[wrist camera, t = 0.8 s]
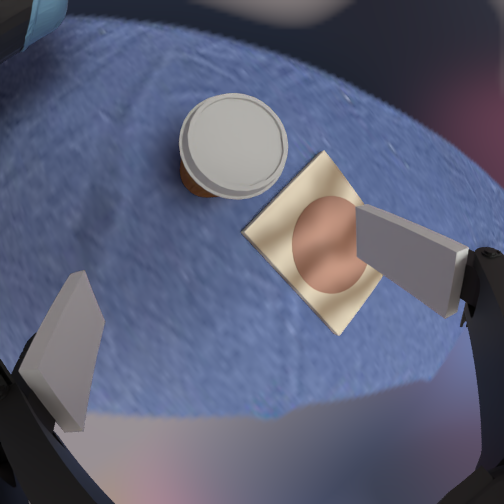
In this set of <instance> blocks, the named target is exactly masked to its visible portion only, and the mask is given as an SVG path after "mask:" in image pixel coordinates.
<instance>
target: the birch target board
mask: <svg viewBox="0 0 504 504" xmlns="http://www.w3.org/2000/svg"><path fill="white" fill-rule="evenodd" d="M361 205H364V203H363V202H362V200H361V199H360V198H359V196H358V195H357V193H356V192H355V191H354V189H353V188H352V186H351V185H350V184H349V182H348V181H347V180H346V178H345V177H344V175H343V174H342V173H341V171H340V170H339V169H338V167H337V166H336V165H335V164H334V162H333V161H332V160H331V158H330V157H329V156H328V154H327V153H326V152H325V151H321V152H319V153H318V154H317V155H316V156H315V157H314V158H313V159H312V160H311V161H310V162H309V163H308V164H307V165H306V166H305V167H304V168H303V169H302V170H301V171H300V172H299V173H298V174H297V175H296V176H295V177H294V178H293V179H292V180H291V181H290V182H289V183H288V184H287V185H286V186H285V187H284V188H283V189H282V190H281V191H280V192H279V194H278V195H277V196H276V197H275V198H274V199H273V200H272V201H271V202H270V203H269V204H268V205H267V206H266V207H265V208H264V209H263V210H262V211H261V212H260V213H259V214H258V215H257V216H256V217H255V218H254V219H253V220H252V221H251V222H250V223H249V224H248V225H247V226H246V227H245V228H244V229H243V230H242V231H241V233H242V234H243V235H244V237H245V238H246V239H247V240H248V241H249V242H250V243H251V244H252V245H253V246H254V247H255V248H256V250H257V251H258V252H259V253H260V254H261V255H262V256H263V257H264V258H265V259H266V260H267V261H268V263H269V264H270V265H271V266H272V267H273V268H274V269H275V270H276V271H277V272H278V273H279V274H280V276H281V277H282V278H283V279H284V280H285V281H286V282H287V283H288V284H289V285H290V286H291V287H292V289H293V290H294V291H295V292H296V293H297V294H298V295H299V296H300V297H301V298H302V299H303V301H304V302H305V303H306V304H307V305H308V306H309V307H310V308H311V309H312V310H313V311H314V313H315V314H316V315H317V316H318V317H319V318H320V319H321V320H322V321H323V322H324V323H325V325H326V326H327V327H328V328H329V329H330V330H331V331H332V332H333V333H334V334H335V335H338V336H340V334H341V333H342V332H343V330H344V329H345V328H346V326H347V325H348V324H349V322H350V321H351V320H352V319H353V317H354V316H355V314H356V313H357V312H358V310H359V309H360V308H361V306H362V305H363V304H364V302H365V301H366V299H367V298H368V297H369V295H370V294H371V292H372V291H373V290H374V288H375V287H376V285H377V284H378V282H379V281H380V279H381V278H382V276H383V274H381V273H380V272H378V271H377V270H375V269H374V268H372V267H371V266H369V265H368V264H366V263H365V262H363V261H362V260H360V259H359V258H357V246H356V209H355V207H356V206H361Z"/></svg>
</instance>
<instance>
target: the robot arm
mask: <svg viewBox="0 0 504 504" xmlns="http://www.w3.org/2000/svg"><path fill="white" fill-rule="evenodd" d="M67 5H68V0H0V64H1V63H3V62H4V61H6V60H7V59H9V58H10V57H12V56H14V55H15V54H17V53H18V52H23V51H25V50H26V49H27V47H28V46H29V45H31V44H32V43H34V42H36V41H37V40H39V39H41V38H42V37H44V36H46V35H48V34H49V33H51V32H53V31H54V30H55V29H57V28H58V27H59V25H60V24H61V23H62V21H63V19H64V17H65V14H66V11H67ZM355 209H356V246H357V258H359V259H360V260H362V261H363V262H365V263H366V264H368V265H369V266H371V267H372V268H374V269H375V270H377V271H378V272H380V273H381V274H383V275H384V276H386V277H387V278H388V279H390V280H391V281H393V282H394V283H396V284H397V285H399V286H400V287H401V288H403V289H404V290H406V291H407V292H409V293H410V294H411V295H413V296H414V297H416V298H417V299H418V300H420V301H421V302H423V303H424V304H425V305H427V306H428V307H429V308H431V309H432V310H434V311H435V312H436V313H438V314H439V315H440V316H442V317H443V318H444V319H446V318H447V317H449V316H451V315H453V314H454V313H456V312H457V310H458V305H459V301H460V298H461V299H462V300H464V301H465V302H466V303H465V307H464V311H463V315H462V319H461V323H460V327H463V323H464V322H465V321H467V324H466V327H468V331H469V335H470V340H471V346H472V350H473V357H474V363H475V369H476V377H477V385H478V393H479V404H480V416H481V434H482V451H481V456H480V458H479V461H478V464H477V466H476V469H475V471H474V472H473V473H472V474H471V475H470V476H468V477H467V478H466V479H465V480H464V481H462V482H461V483H460V484H459V485H457V486H456V487H455V488H454V489H452V490H451V491H450V492H448V493H447V494H446V495H445V496H444V497H443V498H442V499H441V500H440V501H439V502H438V503H437V504H504V255H503V254H502V253H501V252H500V251H499V250H496V249H494V248H490V247H481V248H478V249H476V250H475V252H474V251H472V250H470V249H469V247H467V246H465V245H463V244H461V243H459V242H456V241H454V240H452V239H450V238H448V237H445V236H443V235H441V234H439V233H436V232H434V231H432V230H430V229H427V228H425V227H423V226H420V225H418V224H416V223H413V222H411V221H408V220H406V219H404V218H401V217H399V216H396V215H394V214H391V213H389V212H386V211H384V210H381V209H379V208H376V207H373V206H371V205H368V204H366V205H361V206H356V207H355ZM104 324H105V320H104V317H103V315H102V313H101V310H100V308H99V306H98V303H97V301H96V298H95V296H94V293H93V291H92V288H91V286H90V283H89V280H88V278H87V275H86V272H85V270H83V271H79V272H75V273H72V274H70V275H69V277H68V279H67V280H66V282H65V283H64V285H63V287H62V288H61V290H60V292H59V294H58V295H57V297H56V299H55V300H54V302H53V304H52V306H51V307H50V309H49V311H48V313H47V315H46V316H45V318H44V320H43V322H42V324H41V326H40V328H39V329H38V331H37V333H35V334H34V335H33V336H32V337H31V338H30V339H29V340H28V341H27V343H26V345H25V347H24V349H23V352H22V353H21V355H20V357H19V358H20V359H18V361H17V363H16V365H15V367H14V369H13V372H12V374H10V373H9V371H8V370H7V368H6V367H5V365H4V364H3V362H2V360H1V359H0V504H29V502H30V504H115V503H114V502H113V501H112V500H111V499H110V498H109V497H108V496H107V495H106V494H105V493H104V492H103V491H102V490H101V489H100V487H99V486H98V485H97V484H96V483H95V482H94V481H93V479H92V478H91V477H90V476H89V475H88V474H87V473H86V471H85V470H84V469H83V468H82V467H81V465H80V464H79V463H78V462H77V460H76V459H75V458H74V456H73V455H72V454H71V453H70V451H69V450H68V449H67V448H66V446H65V445H64V443H63V442H62V440H61V439H60V438H59V436H58V435H57V434H56V433H55V432H54V431H53V430H54V425H55V422H56V423H57V424H58V425H59V426H60V427H61V429H62V430H63V431H64V432H79V431H84V425H85V418H86V412H87V405H88V399H89V394H90V388H91V383H92V378H93V373H94V368H95V363H96V358H97V354H98V349H99V345H100V341H101V336H102V332H103V328H104ZM28 500H29V501H28Z"/></svg>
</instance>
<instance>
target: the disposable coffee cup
mask: <svg viewBox="0 0 504 504" xmlns="http://www.w3.org/2000/svg"><path fill="white" fill-rule="evenodd" d="M179 148H180V155H181V163H180V176H181V180H182V182H183V184H184V186H185V187H186V188H187V189H188V190H189V191H190V192H191V193H193V194H195V195H197V196H200V197H206V198H208V197H223V198H226V199H246V198H251V197H254V196H257V195H260V194H261V193H263V192H265V191H266V190H268V189H269V188H270V187H271V186H272V185H273V184H274V183H275V182H276V181H277V179H278V178H279V176H280V175H281V173H282V170H283V168H284V165H285V162H286V159H287V153H288V140H287V135H286V132H285V129H284V126H283V124H282V123H281V121H280V119H279V118H278V116H277V115H276V114H275V113H274V112H273V110H272V109H271V108H270V107H269V106H267V105H266V104H265V103H263V102H262V101H260V100H258V99H256V98H254V97H251V96H248V95H244V94H238V93H228V94H223V95H218V96H214V97H211V98H208V99H206V100H204V101H203V102H201V103H199V104H197V105H196V106H195V107H194V108H193V109H192V110H191V111H190V113H189V114H188V115H187V117H186V118H185V120H184V122H183V125H182V128H181V131H180V137H179Z"/></svg>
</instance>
